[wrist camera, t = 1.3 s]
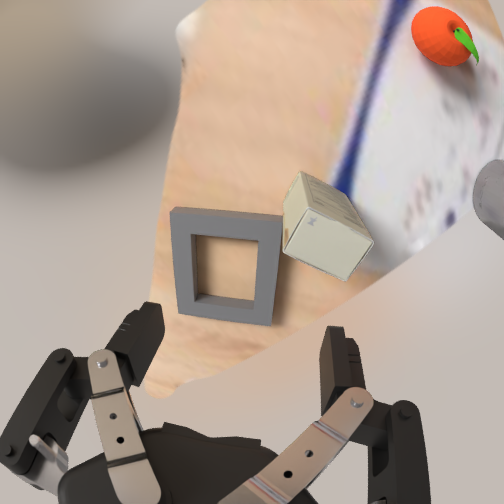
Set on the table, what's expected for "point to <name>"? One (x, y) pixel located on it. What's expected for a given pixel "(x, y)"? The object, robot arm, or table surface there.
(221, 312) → the holder
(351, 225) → the skincare box
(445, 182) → the table surface
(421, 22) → the clementine
